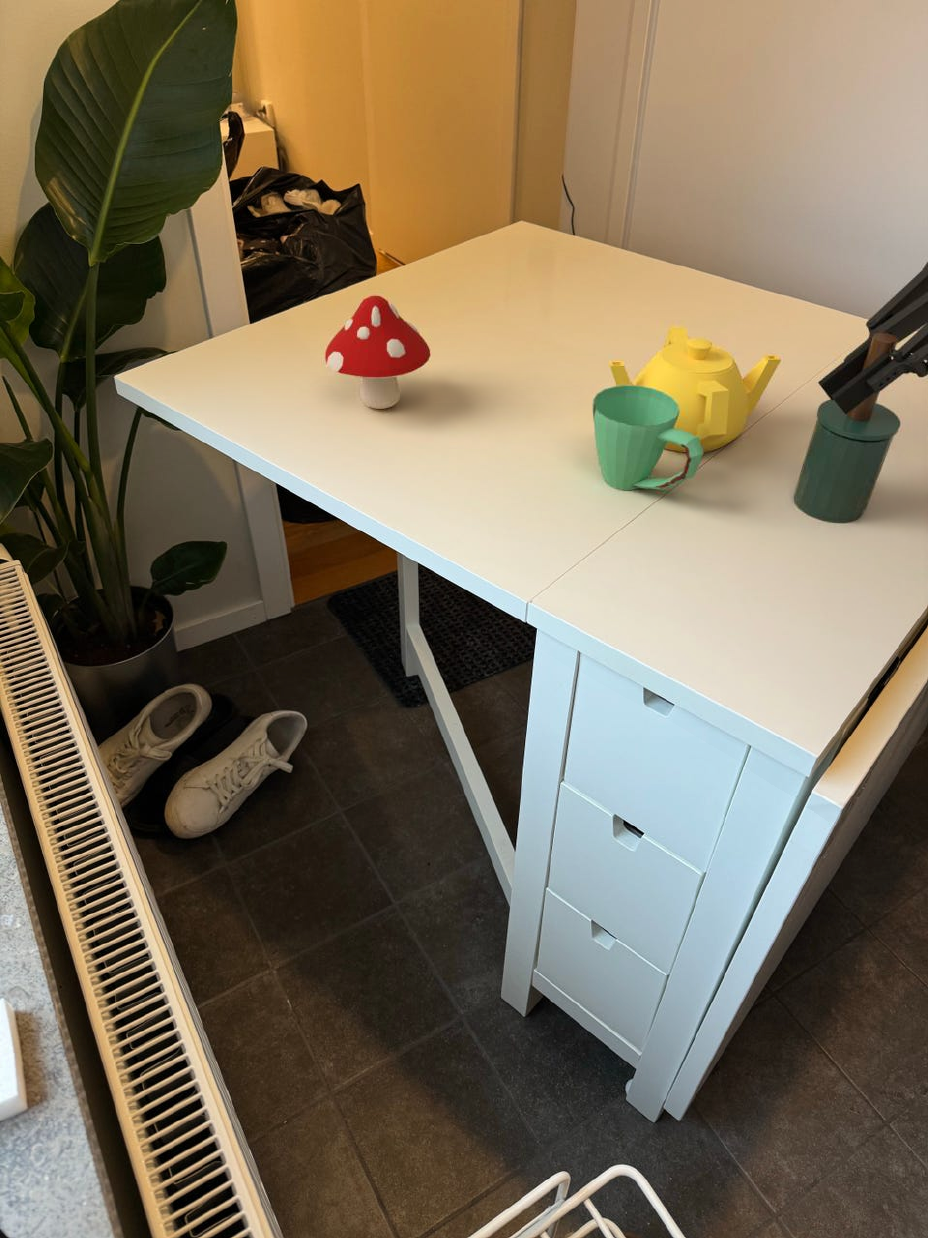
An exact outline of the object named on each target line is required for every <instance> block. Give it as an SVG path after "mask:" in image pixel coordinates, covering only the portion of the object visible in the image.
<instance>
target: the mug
mask: <svg viewBox="0 0 928 1238" xmlns="http://www.w3.org/2000/svg"><path fill="white" fill-rule="evenodd" d="M591 408H592V417H593V425H594V438H595V439H594V440H595V447H596V451H597V456H598V462H599V466H600V469H601V473H602V476H603V480H604V482H605V483H606V484H607V485H608V486H609V487H611V488H613V489H616V490H620V491H635V490H638V489H650V490H659V491H665V490H667V489H669V488H672V487H674V486H676V485H679V484H681V483H683V482H685V481H687V480H689V479H691V478H693V477H694V476H695V475H696V473H697V472H698V468H699V465H700V463H701V461H702V457H703V455H704V453H705V452H703V449H702V446H701V444H700V441H699V438H698V437H696V436H694V435H692V434H690V433H688V432H685V431H681V430H678V429H674V426H675V423H676V421H677V419H678V416H679V406H678V404H677V402H676V401H675V400H674V399H673V398H672V397H670V396H669V395H667V394H665V393H664V392H661V391H659V390H656V389H653V388H649V387H644V386H635V385H622V386H616V385H614V386H611V387H607V388H604V389H602V390H601V391H599V392H598V393H596V394H595V396H594V398H593V399H592V407H591ZM667 442H671V443H675V444H677V445H679V446H680V447H682V448H684V449H685V450H686V452H685V454H686V456H687V457H686V458H687V459H686V462H685V466H684V468H683V470H681V471H680V472H678V473H677V474H675V475H673V476H671V477H669V478H664V477H650V475H651V474H652V473H653V471H654V469H655V467H656V466H657V464H658V462H659V460H660V459H661V458H662V454H663V453H664V451H665V449H664V448H665V446H666V443H667Z"/></svg>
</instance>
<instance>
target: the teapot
mask: <svg viewBox="0 0 928 1238" xmlns="http://www.w3.org/2000/svg"><path fill="white" fill-rule="evenodd" d="M781 361H782V359H781V358H780V357H779V356H778V355H777V354H764V355H763V357H762V358H761V359H760V360H759V361H758V362H757V363H756V365H754V366H753V368H751V370H750V371H749V372H748V373H747V374H746V375H745V376H744V377H743V376H742V374H741V371H740V369H739V367H738V364H737V363H736V361H735V359H734V357H733V356H732V354H731V353H729V352H728V351H727V350H725V349H723V348H722V347H720V346H717V345H714V344H713V342H712V341H711V340H709V339H706V338H703V337H692V338H690V337H689V334H688V330H687V328H686V326H669V328H668V331H667V335H666V338H665V341H664V345H663V348H661V349H660V350H659V351H658V352H656V354H655V355H654V356H652V357H651V359H650V360H649V362H647V364H645V366H644V367H643V368H642V369H641V371H640V372H639V373H638V375H637V376H636V378H635V380H634V381H633V383H632V381H631V378H630V376H629V374H628V372H627V370H626V365H625V363H624V361H623V360H610V361H609V362H608V365H609V367H610V371H611V374H612V377H613V380H614V383H615V386H622V385H635V386H644V387H649V388H653V389H656V390H659V391H661V392H664V393H665V394H667V395H669V396H670V397H672V398H673V399H674V400H675V401H676V402H677V404H678V406H679V416H678V419H677V421H676V423H675V426H674V429H678V430H681V431H685V432H688V433H690V434H692V435H694V436H696V437H698V438H699V441H700V444H701V446H702V449H703V452H704V453H705V452H706V453H707V452H711V451H715V450H717V449H720V448H722V447H724V446H725V445H727V444H729V443H731V442H732V441H734V440H735V439H736V438H737V437H739V436H740V435H741V434H742V432H743V431H744V429H745V427H746V426H747V420H748V415H749V416H750V415H752V414H753V412H754V410H755V408H756V406H757V405H758V403H759V401H760V400H761V398H762V396H763V394H764V392H765V391H766V388H767V386H768V385H769V383H770V381H771V379H772V377H773V376H774V374H775V372H776V370H777V368H778V366H779V365H780V363H781ZM664 450H667V451H672V452H680V453H686V450H685V449H684V448H682V447H680V446H679V445H677V444H675V443H671V442H667V443H666V446H665V448H664Z"/></svg>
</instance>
